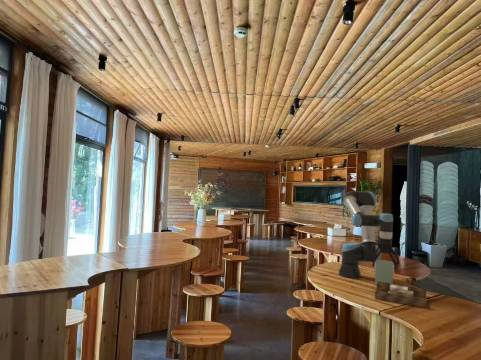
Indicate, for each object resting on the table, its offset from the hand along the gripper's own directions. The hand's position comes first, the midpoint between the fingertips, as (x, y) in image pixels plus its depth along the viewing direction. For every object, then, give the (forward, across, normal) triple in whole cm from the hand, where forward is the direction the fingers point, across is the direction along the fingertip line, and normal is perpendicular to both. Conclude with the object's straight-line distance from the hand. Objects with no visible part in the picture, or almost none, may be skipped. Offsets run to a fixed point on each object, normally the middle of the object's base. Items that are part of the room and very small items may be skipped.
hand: (384, 273), depth 216 cm
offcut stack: (+8, +10, -20) cm, 24 cm away
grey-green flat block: (+8, 0, 0) cm, 8 cm away
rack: (+10, +10, -18) cm, 22 cm away
